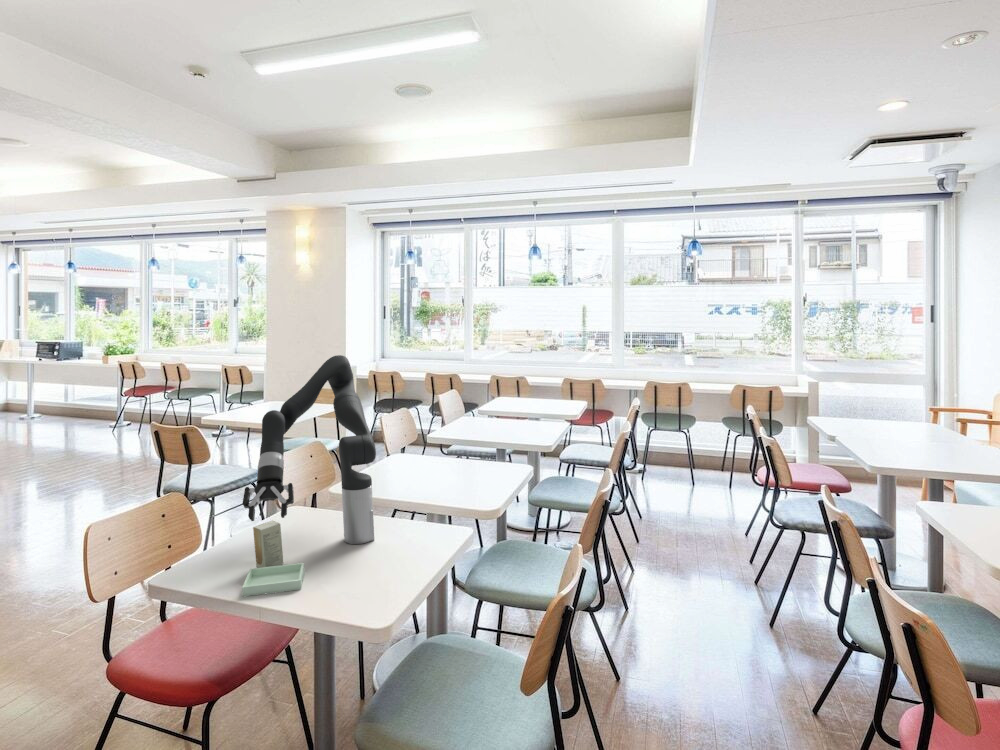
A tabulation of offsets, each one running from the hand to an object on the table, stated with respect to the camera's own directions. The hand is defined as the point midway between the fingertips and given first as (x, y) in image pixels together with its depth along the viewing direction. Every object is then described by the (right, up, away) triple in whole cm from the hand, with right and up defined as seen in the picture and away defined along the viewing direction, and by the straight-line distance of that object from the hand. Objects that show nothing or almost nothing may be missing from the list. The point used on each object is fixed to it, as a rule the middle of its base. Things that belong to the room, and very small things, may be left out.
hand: (267, 518), depth 170 cm
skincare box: (+4, -12, -7) cm, 14 cm away
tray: (+9, -13, -18) cm, 24 cm away
